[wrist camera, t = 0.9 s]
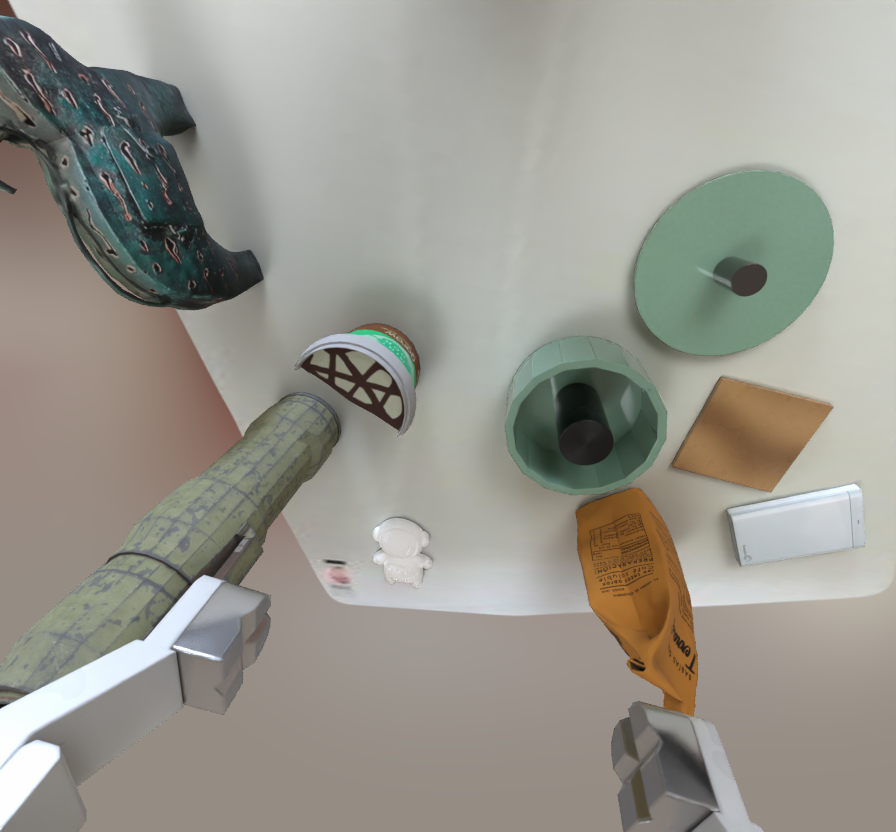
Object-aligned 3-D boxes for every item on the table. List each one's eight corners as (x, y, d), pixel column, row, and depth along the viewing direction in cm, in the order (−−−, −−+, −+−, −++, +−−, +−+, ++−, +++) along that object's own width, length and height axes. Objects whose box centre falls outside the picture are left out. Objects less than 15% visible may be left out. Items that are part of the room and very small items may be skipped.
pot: (530, 320, 44) (531, 342, 38) (672, 356, 44) (696, 384, 38) (494, 439, 51) (489, 473, 45) (615, 471, 51) (628, 510, 45)
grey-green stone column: (362, 447, 55) (155, 775, 24) (282, 459, 58) (8, 765, 27) (337, 383, 51) (55, 675, 21) (252, 400, 54) (-102, 676, 24)
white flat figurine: (373, 574, 65) (367, 590, 63) (374, 512, 60) (367, 527, 57) (430, 585, 64) (426, 602, 62) (437, 524, 59) (433, 540, 56)
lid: (678, 151, 36) (699, 146, 31) (869, 195, 35) (918, 196, 31) (606, 330, 43) (615, 346, 39) (762, 369, 43) (789, 390, 38)
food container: (453, 355, 47) (437, 393, 39) (424, 396, 50) (402, 440, 41) (356, 288, 46) (316, 312, 37) (331, 334, 48) (288, 366, 40)
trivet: (720, 376, 44) (722, 378, 43) (830, 404, 43) (834, 406, 43) (671, 463, 49) (672, 466, 49) (768, 489, 49) (771, 492, 48)
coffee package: (597, 571, 58) (632, 762, 39) (564, 501, 54) (586, 676, 34) (676, 554, 55) (757, 753, 36) (648, 478, 50) (723, 657, 31)
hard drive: (741, 568, 52) (866, 549, 48) (730, 516, 49) (864, 491, 45) (735, 558, 54) (856, 538, 50) (725, 507, 51) (853, 482, 47)
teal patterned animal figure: (130, 84, 40) (-176, 5, 23) (185, 55, 38) (-101, -54, 21) (235, 296, 48) (68, 358, 31) (284, 280, 46) (137, 337, 29)
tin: (562, 377, 46) (569, 414, 39) (607, 389, 46) (622, 428, 38) (547, 416, 48) (551, 458, 41) (590, 427, 48) (601, 471, 41)
